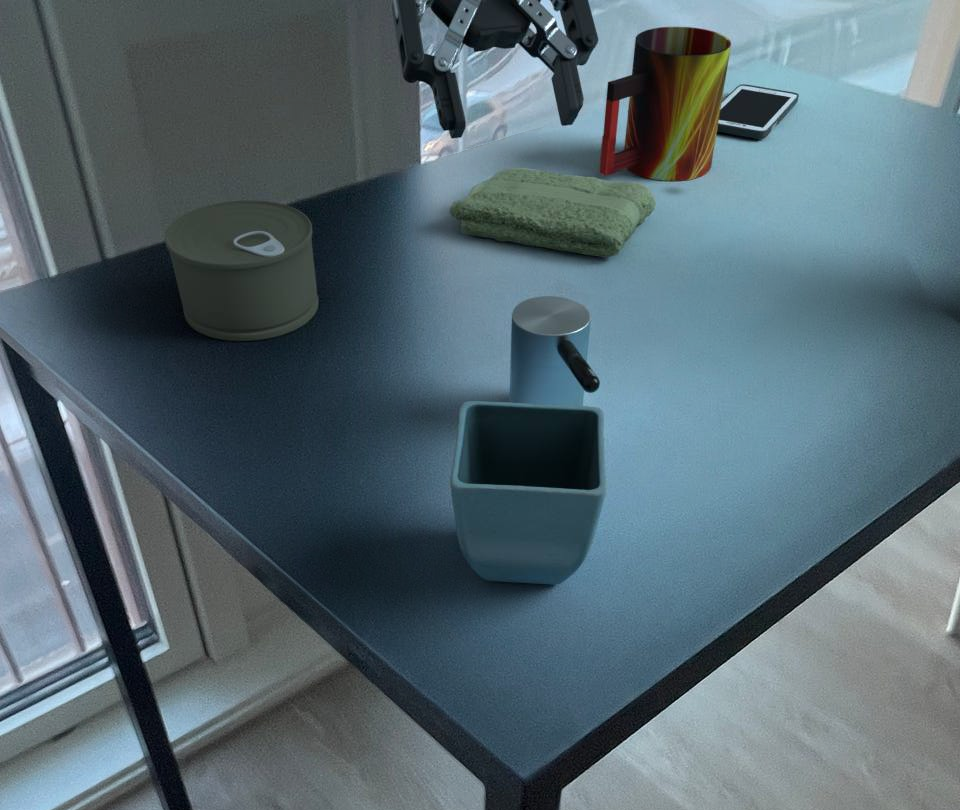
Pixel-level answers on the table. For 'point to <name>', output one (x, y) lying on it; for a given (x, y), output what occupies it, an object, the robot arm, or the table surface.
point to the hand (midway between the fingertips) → (515, 126)
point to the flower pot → (527, 488)
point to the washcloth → (555, 211)
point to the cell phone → (754, 110)
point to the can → (244, 269)
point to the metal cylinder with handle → (550, 352)
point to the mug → (668, 105)
